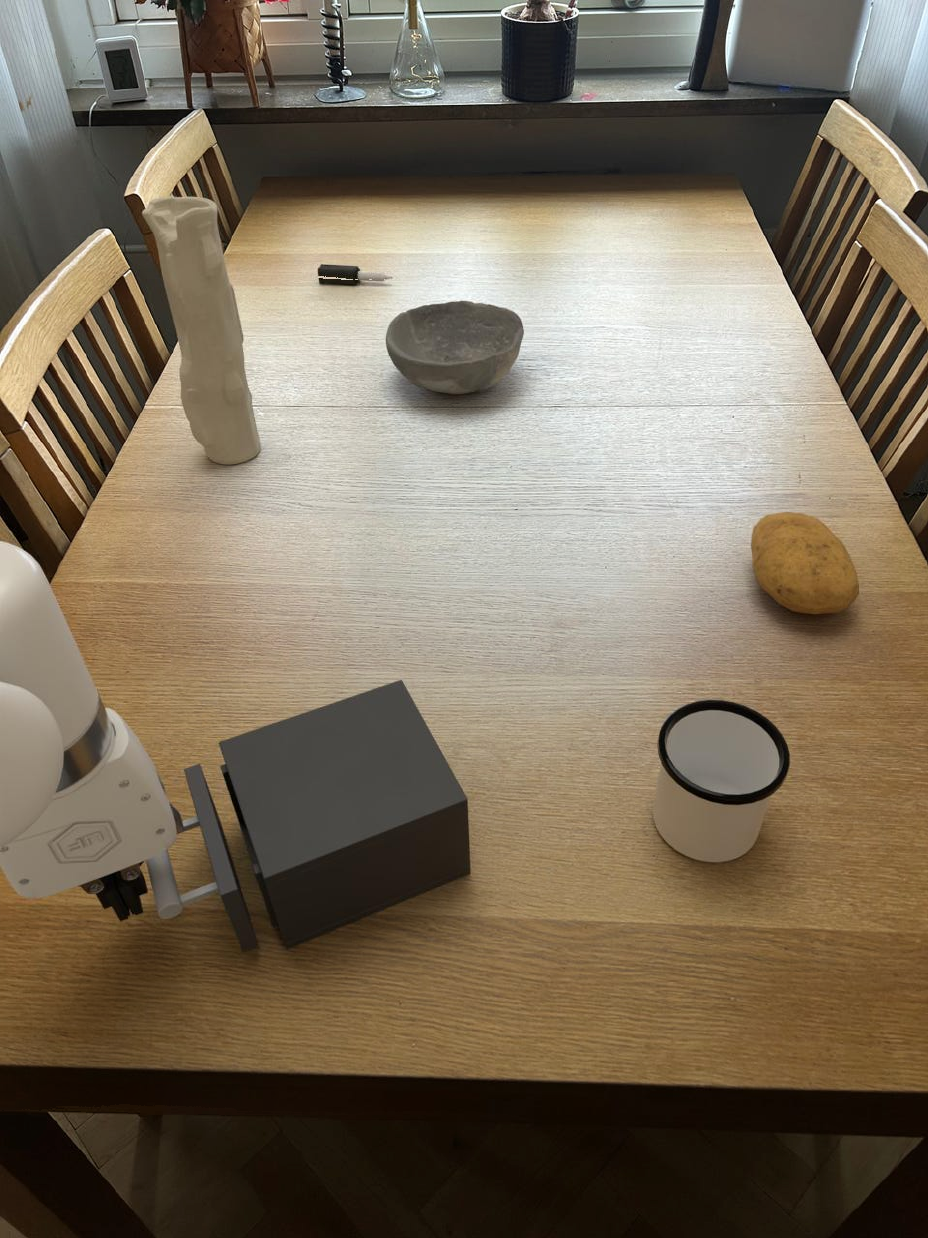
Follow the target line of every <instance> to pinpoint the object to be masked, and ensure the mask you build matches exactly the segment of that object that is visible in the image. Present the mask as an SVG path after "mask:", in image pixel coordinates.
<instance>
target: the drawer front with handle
mask: <svg viewBox="0 0 928 1238" xmlns="http://www.w3.org/2000/svg"><path fill="white" fill-rule="evenodd" d="M219 768H220V770H221V771H220V772H221V773H222V778H223V780H224V783H225V785H226V789H227V791H228V794H229V798H230V800H231V803H232V806H233V809H234V813H235V815H236V818H237V821H238V824H239V827H240V831H241V834H242V836H243V839H244V842H245V846H246V849H247V852H248V854H249V858H250V862H251V864H252V869H253V872H254V875H255V878H256V881H257V884H258V888H259V890H260V893H261V896H262V899H263V902H264V905H265V908H266V911H267V914H268V917H269V920H270V923H271V926H272V928H273V929H275V928H278V927H279V925H278V922H277V919H276V915H275V912H274V909H273V906H272V903H271V900H270V897H269V894H268V891H267V888H266V885H265V882H264V879H263V876H262V873H261V870H260V867H259V864H258V861H257V858H256V855H255V852H254V849H253V846H252V843H251V839H250V836H249V833H248V830H247V827H246V824H245V821H244V818H243V815H242V812H241V809H240V806H239V803H238V800H237V797H236V794H235V791H234V788H233V785H232V782H231V779H230V776H229V773H228V770H227V767H226V764H225V763H224V764H221V765H220V766H219ZM183 772H184V775H185V779H186V782H187V786H188V789H189V792H190V796H191V800H192V803H193V806H194V810H195V814H196V815H194V816H191V817H190V818H186V819H182V823H183V826H184V830H183V831H182V832H181V833H180V834H182V833H185V832H187V831H190V830H193V829H195V828H198V827H200V832H201V835H202V838H203V841H204V845H205V849H206V852H207V856H208V859H209V862H210V866H211V871H212V874H213V876H214V880H215V881H213V882H211V883H208V884H206V885H203V886H200V887H198V888H196V889H193V890H190V891H187V892H185V893H182V894H180V893H179V889H178V885H177V880H176V876H175V873H174V869H173V864H172V861H171V857H170V853H169V848H168V849H167V850H165V851H164V852H162V853H160V854H159V855H157V856H154V857H152V858H150V859H147V860H145V864H146V867H147V873H148V877H149V880H150V885H151V890H152V894H153V898H154V903H155V907H156V911H157V915H158V917H159V918H160V919H162V920H169V919H173V918H175V917H177V916H178V915H180V914H181V913H182V911H183V907H185V906H188V905H191V904H193V903H196V902H198V901H201V900H203V899H205V898H208V897H211V896H214V895H215V894H218V895H219V897H220V899H221V902H222V904H223V907H224V909H225V912H226V915H227V917H228V919H229V922H230V925H231V927H232V931H233V932H234V935H235V937H236V940H237V942H238V945H239V947H240V950H241V952H242V953H245V952H248V951H250V950H253V949H255V948H258V947H259V945H260V944H259V942H258V938H257V935H256V931H255V929H254V925H253V922H252V918H251V914H250V913H249V909H248V906H247V902H246V899H245V895H244V893H243V889H242V886H241V882H240V879H239V876H238V873H237V869H236V867H235V863H234V860H233V856H232V854H231V853H232V852H231V850H230V847H229V844H228V841H227V838H226V834H225V830H224V828H223V827H224V826H223V824H222V821H221V818H220V816H219V813H218V811H217V808H216V804H215V802H214V799H213V796H212V794H211V791H210V788H209V785H208V782H207V780H206V777H205V775H204V771H203V768H202V766H201V764H200V763H197V764H195V765H194V764H193V765H191V766H189V767H186V768H184V769H183Z"/></svg>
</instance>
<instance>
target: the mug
mask: <svg viewBox="0 0 928 1238" xmlns="http://www.w3.org/2000/svg"><path fill="white" fill-rule="evenodd" d="M656 747H657V754H658V758H659V760H660V765H659V766H660V767H659V771H658V777H657V782H656V786H655V787H656V788H655V792H654V797H653V802H652V811H651V812H652V820H653V822H654V825H655V828H656V830H657V832H658V833H659V835H660V836H661V838H662V839H663V840H664V841H665V842H666V844H668V845H669V846H670V847H671V848H673V850H675V851H676V852H678V853H680V854H681V855H684V856H685V857H688V858H690V859H694V860H696V861H701V862H706V863H723V862H729V861H732V860H736V859H738V858H740V857H741V856H743V855H745V854H746V853H748V851H749V850H751V849H752V848H753V846H754V845H755V843H756V842H757V840H758V837H759V834H760V831H761V829H762V825H763V822H764V819H765V816H766V814H767V810H768V808H769V805H770V801H771V799H772V795H774V794H775V793H776V791H778V790H779V789H780V788H781V787H782V786H783V784H784V782H785V781H786V779H787V776H788V773H789V770H790V766H791V753H790V750H789V746H788V743H787V741H786V739H785V737H784V735H783V734H782V732H781V731H780V730H779V728H778V727H777V726H776V725H775V724H774V723H773V722H772V721H771V720H770V719H769V718H768V717H766V716H764V715H763V714H761V713H760V712H758V711H757V710H755V709H753V708H751V707H749V706H747V705H744V704H741V703H737V702H735V701H729V700H722V699H713V698H711V699H703V700H696V701H693V702H690V703H686V704H684V705H682V706H680V707H678V708H676V709H675V710H674V711H673V712H671V713H670V714H669V715H668V716H667V717H666V719H664V721H663V723H662V725H661V728H660V729H659V733H658V735H657V745H656Z"/></svg>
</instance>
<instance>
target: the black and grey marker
mask: <svg viewBox="0 0 928 1238" xmlns="http://www.w3.org/2000/svg"><path fill="white" fill-rule="evenodd" d="M318 276H324V277H325V276H326V277H336V278H337V277H338V278H346V279H353V280H341V279H323V278H318ZM317 279H318V283H319V284H330V285H347V286H348V285H349V286H357V285H358V284H360V283H361V281H364V282H379V283H381V282H384V281H386V280H392V279H394V276H392V275H388V274H386V273H385V272H382V271H368V270H367V271H364V270H361V269H360V267H359V266H358V265H346V264H345V265H343V264H323V263H320V265H319V267H318V268H317ZM355 279H358V280H355ZM369 279H372V280H369ZM384 279H385V280H384Z"/></svg>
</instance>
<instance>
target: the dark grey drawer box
mask: <svg viewBox="0 0 928 1238" xmlns="http://www.w3.org/2000/svg"><path fill="white" fill-rule="evenodd" d="M218 745H219V750H220V751H221V754H222V757H223V761H224V764H226V767H227V770H228V773H229V776H230V779H231V782H232V785H233V788H234V791H235V794H236V797H237V800H238V803H239V806H240V809H241V812H242V815H243V818H244V821H245V824H246V827H247V830H248V833H249V836H250V839H251V843H252V846H253V849H254V852H255V855H256V858H257V861H258V864H259V867H260V870H261V873H262V876H263V879H264V882H265V885H266V888H267V891H268V894H269V897H270V900H271V903H272V906H273V909H274V912H275V915H276V919H277V922H278V925H279V926H278V927H279V931H280V933H281V936H282V940H283V943H284V946H285V948H286V950H289V949H292V948H294V947H296V946H299V945H301V944H305V943H307V942H309V941H311V940H314V939H316V938H318V937H320V936H323V935H326V934H328V933H329V932H333V931H336V930H338V929H340V928H342V927H345V926H347V925H349V924H350V925H351V923H354V922H356V921H359V920H361V919H363V918H366V917H368V916H371V915H374V914H377V913H379V912H381V911H384V910H386V909H388V908H390V907H393V906H396V905H397V904H400V903H402V902H405V901H407V900H410V899H413V898H414V897H417V896H420V895H422V894H425V893H428V892H429V891H432V890H434V889H436V888H439V887H441V886H444V885H445V884H448V883H450V882H453V881H455V880H458V879H460V878H463V877H465V876H468V875H470V874H471V873H472V872H471V871H472V870H471V851H470V849H471V848H470V824H469V801H468V800H469V799H468V797H467V795H466V794H465V792H464V790H463V788H462V786H461V784H460V783H459V781H458V779H457V777H456V776H455V773H454V772H453V769H452V767H451V766H450V765H449V763H448V761H447V759H446V757H445V756H444V754H443V752H442V750H441V748H440V746H439V744H438V743H437V741H436V739H435V736H433V734H432V732H431V730H430V729H429V726H428V724H427V722H426V720H425V719H424V717H423V715H422V714H421V712H420V710H419V708H418V707H417V705H416V703H415V701H414V699H413V698H412V696H411V694H410V692H409V690H408V688H407V686H406V684H405V682H404V681H403V679H398V680H396V681H393V682H391V683H387V684H384V685H382V686H379V687H376V688H373V689H370V690H367V691H363V692H361V693H358V694H354V695H353V696H349V697H347V698H343V699H341V700H337V701H334V702H332V703H329V704H326V705H323V706H320V707H317V708H314V709H311V710H309V711H305V712H302V713H299V714H296V715H294V716H291V717H288V718H285V719H282V720H279V721H276V722H273V723H270V724H267V725H265V726H261V727H258V728H256V729H253V730H250V731H247V732H245V733H241V734H238V735H235V736H233V737H230V738H229V737H228V738H226V739H224V740H221V741H218Z"/></svg>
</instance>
